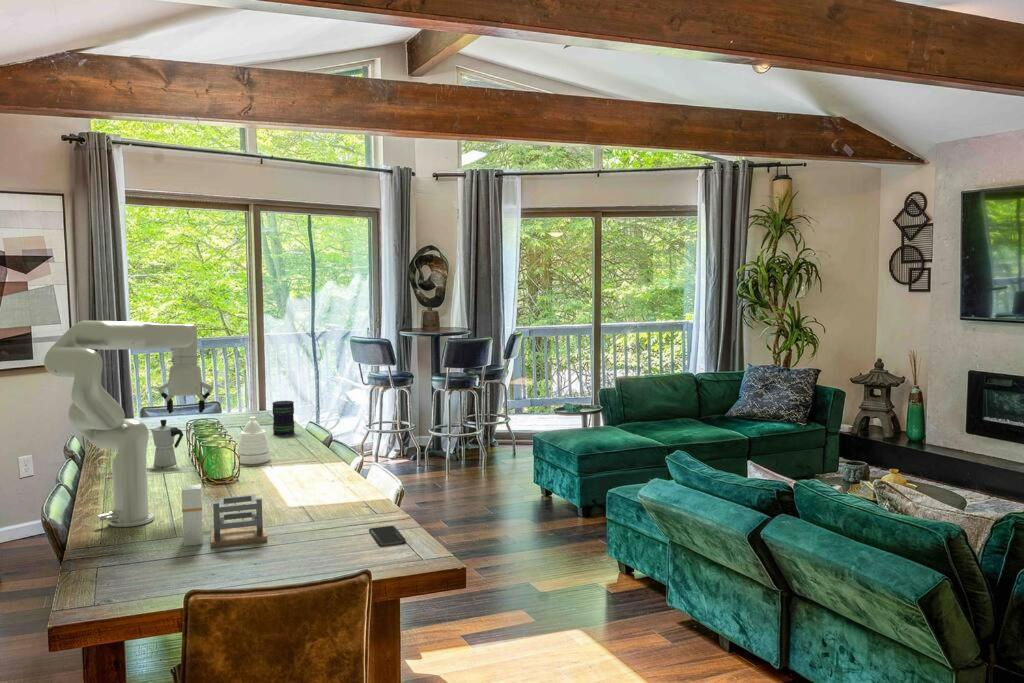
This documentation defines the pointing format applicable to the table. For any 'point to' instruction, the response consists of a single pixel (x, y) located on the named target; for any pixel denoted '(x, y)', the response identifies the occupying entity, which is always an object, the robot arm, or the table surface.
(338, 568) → the table surface
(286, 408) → the storage jar
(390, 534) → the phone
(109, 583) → the table surface
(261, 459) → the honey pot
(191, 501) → the white block
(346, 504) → the table surface
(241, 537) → the collar rack
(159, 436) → the coffee maker
